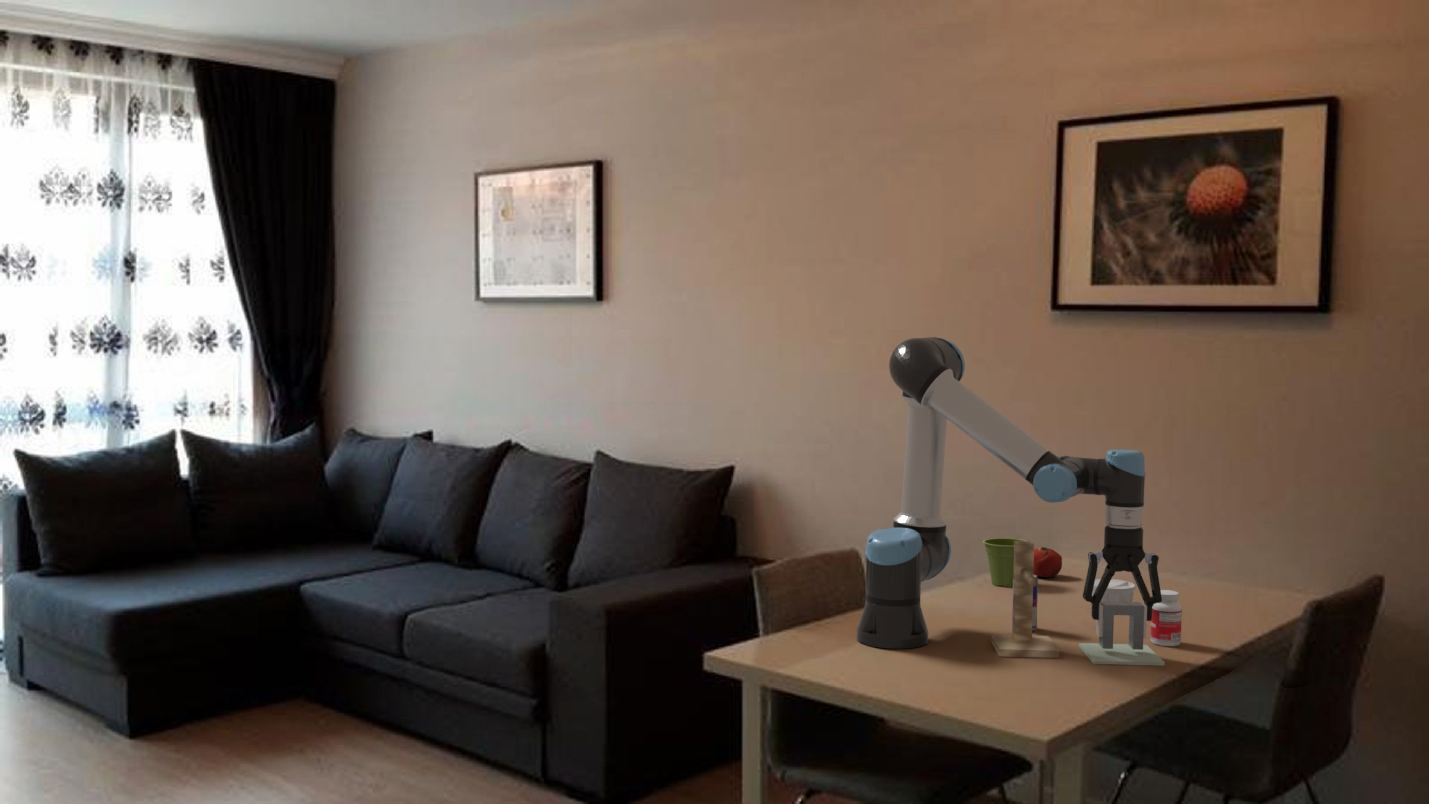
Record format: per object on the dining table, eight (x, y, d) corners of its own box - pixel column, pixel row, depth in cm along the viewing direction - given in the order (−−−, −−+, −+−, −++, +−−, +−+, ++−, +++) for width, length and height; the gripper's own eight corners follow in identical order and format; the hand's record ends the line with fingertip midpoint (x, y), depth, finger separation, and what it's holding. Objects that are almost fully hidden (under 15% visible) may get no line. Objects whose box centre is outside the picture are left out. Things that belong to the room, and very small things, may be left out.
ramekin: (1138, 610, 302) (1139, 588, 302) (1089, 609, 304) (1090, 587, 304) (1130, 600, 313) (1131, 579, 313) (1083, 598, 315) (1084, 577, 315)
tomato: (1040, 572, 348) (1041, 543, 347) (1069, 577, 341) (1070, 547, 340) (1019, 576, 342) (1020, 546, 341) (1048, 581, 335) (1049, 551, 334)
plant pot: (1001, 577, 340) (1001, 536, 339) (1038, 585, 330) (1039, 542, 330) (972, 583, 332) (973, 540, 331) (1009, 591, 323) (1010, 547, 322)
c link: (1102, 648, 260) (1104, 605, 259) (1099, 644, 263) (1100, 601, 263) (1143, 649, 259) (1144, 605, 259) (1138, 645, 263) (1139, 602, 262)
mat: (1093, 663, 255) (1093, 660, 255) (1078, 645, 269) (1078, 643, 269) (1164, 665, 254) (1165, 662, 254) (1146, 647, 268) (1146, 644, 268)
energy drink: (1037, 632, 280) (1038, 578, 280) (1012, 631, 282) (1013, 577, 281) (1036, 626, 286) (1037, 573, 285) (1011, 625, 287) (1012, 572, 286)
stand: (1001, 660, 258) (1003, 552, 256) (991, 641, 272) (992, 539, 271) (1061, 661, 257) (1064, 553, 255) (1048, 642, 271) (1050, 540, 270)
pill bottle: (1151, 638, 276) (1153, 588, 275) (1181, 641, 273) (1183, 590, 272) (1149, 645, 270) (1150, 593, 269) (1179, 648, 268) (1181, 596, 267)
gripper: (1075, 527, 257) (1073, 639, 258) (1181, 529, 255) (1178, 641, 257) (1068, 521, 264) (1065, 630, 266) (1171, 523, 263) (1167, 632, 264)
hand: (1121, 635), depth 261 cm, fingers closed on c link, 8 cm apart
